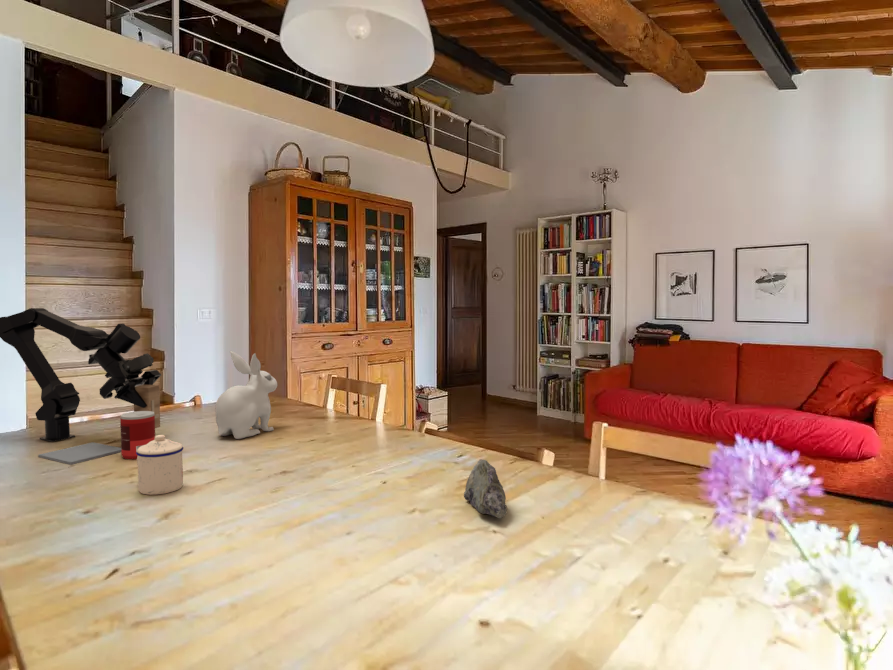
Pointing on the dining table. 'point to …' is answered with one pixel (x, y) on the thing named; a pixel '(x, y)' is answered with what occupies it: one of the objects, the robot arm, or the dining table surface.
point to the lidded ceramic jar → (160, 466)
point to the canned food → (136, 432)
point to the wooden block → (150, 400)
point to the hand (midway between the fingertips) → (151, 405)
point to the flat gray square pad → (80, 453)
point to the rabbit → (246, 401)
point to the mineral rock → (485, 490)
